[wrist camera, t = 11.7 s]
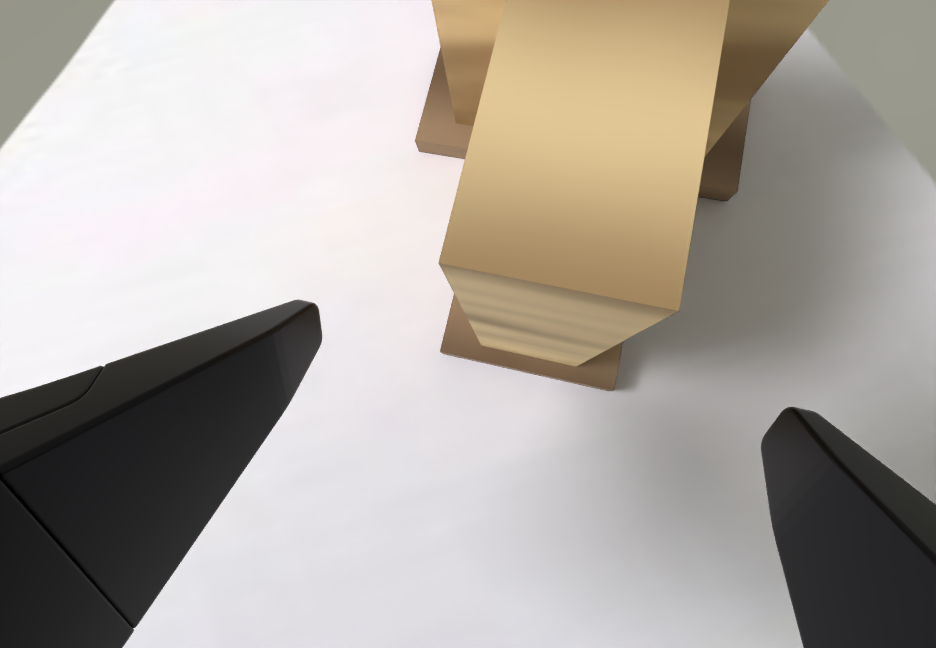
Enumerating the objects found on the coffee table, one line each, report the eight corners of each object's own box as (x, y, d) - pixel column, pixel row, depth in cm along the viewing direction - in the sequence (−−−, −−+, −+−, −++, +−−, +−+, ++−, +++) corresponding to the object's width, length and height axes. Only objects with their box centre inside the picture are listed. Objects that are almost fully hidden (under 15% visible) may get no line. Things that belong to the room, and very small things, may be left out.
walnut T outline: (695, 410, 16) (705, 411, 15) (368, 337, 18) (362, 334, 17) (744, 81, 18) (755, 66, 17) (448, 43, 20) (445, 29, 19)
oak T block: (664, 386, 16) (926, 360, 6) (402, 327, 17) (252, 225, 7) (712, 93, 17) (974, -306, 8) (471, 61, 19) (429, -314, 9)
